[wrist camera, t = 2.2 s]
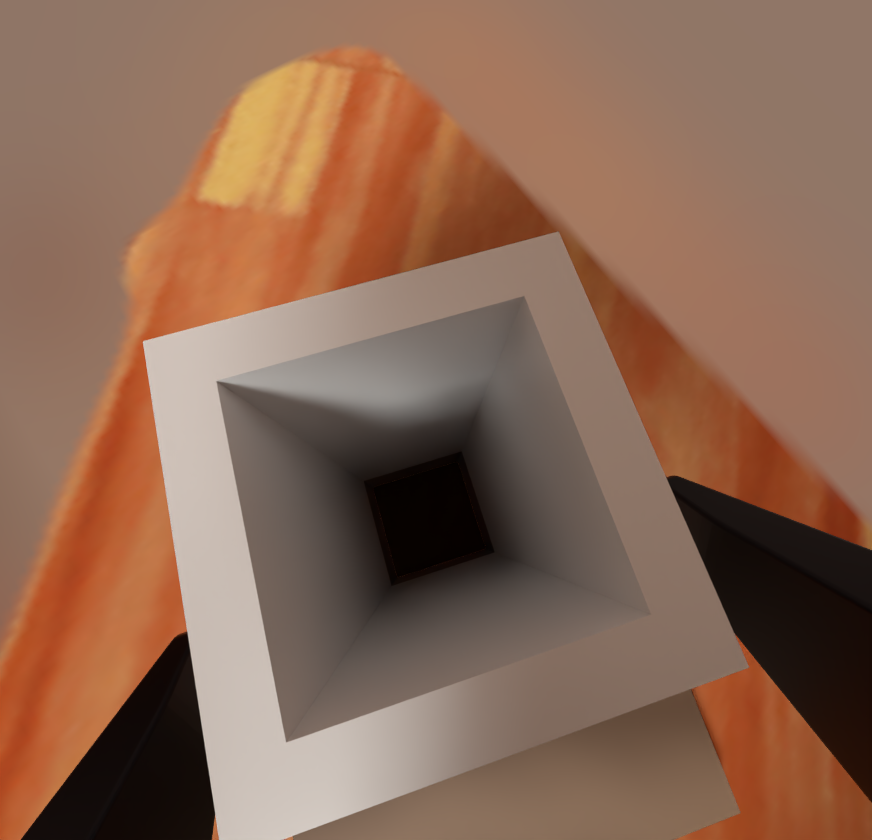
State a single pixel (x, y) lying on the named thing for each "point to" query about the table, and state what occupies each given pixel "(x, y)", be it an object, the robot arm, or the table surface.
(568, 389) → the grey sleeve
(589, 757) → the pin board
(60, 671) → the table surface
